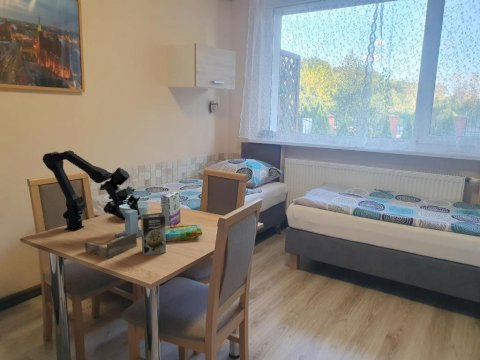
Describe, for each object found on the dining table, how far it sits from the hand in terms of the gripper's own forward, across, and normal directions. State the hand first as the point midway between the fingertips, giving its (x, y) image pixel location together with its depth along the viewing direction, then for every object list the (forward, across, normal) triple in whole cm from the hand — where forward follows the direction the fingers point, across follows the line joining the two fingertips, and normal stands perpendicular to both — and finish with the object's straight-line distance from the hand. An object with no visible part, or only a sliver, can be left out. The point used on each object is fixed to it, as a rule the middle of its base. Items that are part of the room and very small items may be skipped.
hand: (132, 217), depth 168 cm
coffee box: (+22, -10, -9) cm, 26 cm away
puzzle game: (+21, +9, -8) cm, 24 cm away
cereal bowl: (-8, +22, +21) cm, 32 cm away
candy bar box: (+11, +21, +2) cm, 24 cm away
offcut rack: (+9, -17, +3) cm, 20 cm away
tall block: (+5, 0, +6) cm, 8 cm away
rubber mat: (+6, 0, +7) cm, 9 cm away
